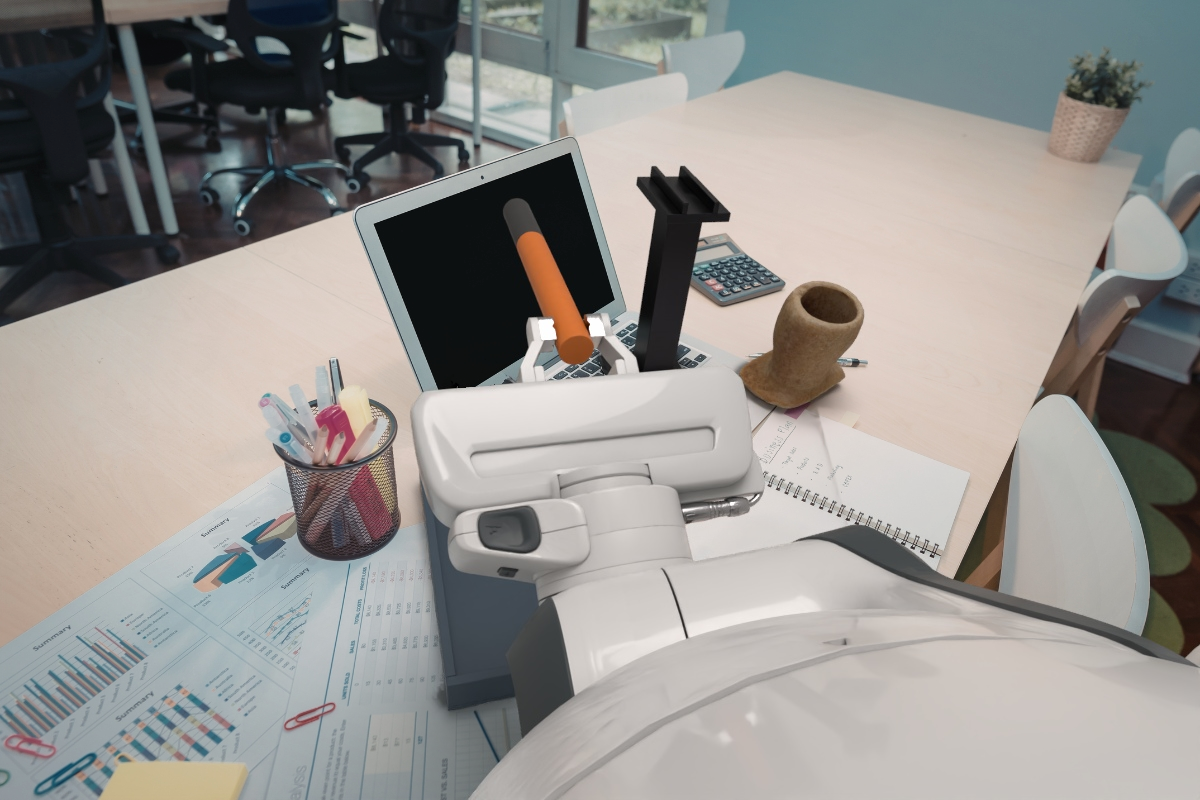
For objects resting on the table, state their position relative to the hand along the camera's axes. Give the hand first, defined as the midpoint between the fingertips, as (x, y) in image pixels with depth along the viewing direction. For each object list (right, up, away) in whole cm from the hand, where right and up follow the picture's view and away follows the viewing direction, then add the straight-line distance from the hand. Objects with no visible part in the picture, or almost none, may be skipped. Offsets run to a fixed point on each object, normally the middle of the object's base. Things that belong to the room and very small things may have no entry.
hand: (566, 319), depth 46 cm
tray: (-7, -21, +22) cm, 32 cm away
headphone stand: (+8, -4, +48) cm, 48 cm away
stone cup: (+28, -4, +51) cm, 59 cm away
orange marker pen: (-2, +4, +7) cm, 8 cm away
